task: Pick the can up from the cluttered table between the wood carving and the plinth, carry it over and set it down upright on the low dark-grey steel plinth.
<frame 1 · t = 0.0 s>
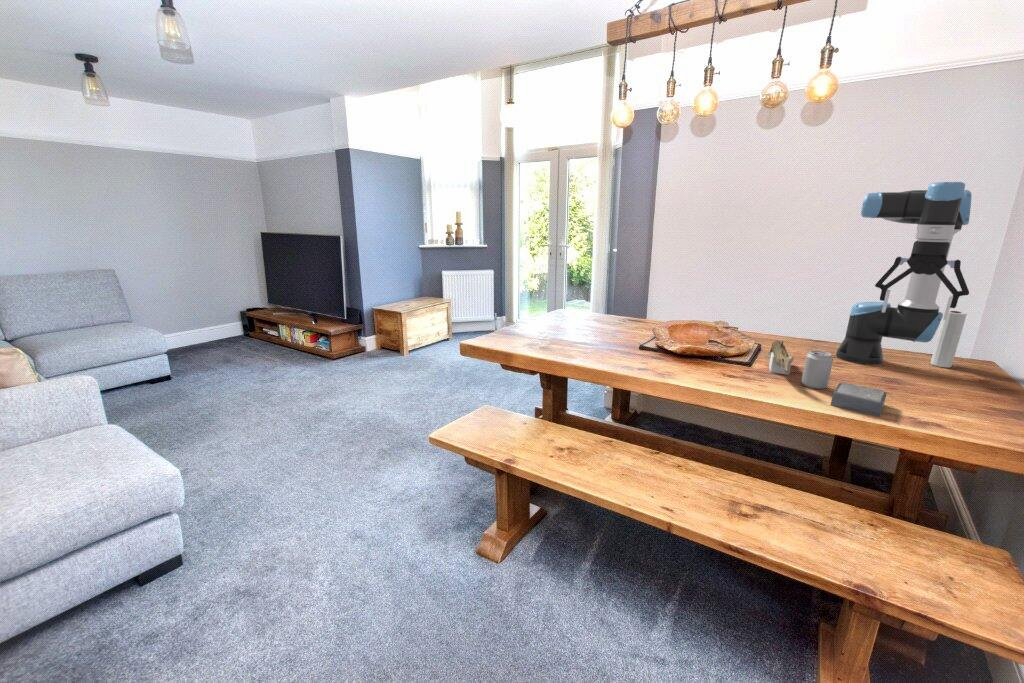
hand: (912, 315, 132), 28 cm above the table, fingers open, 13 cm apart
can: (813, 386, 153), on the table
paper towel roll: (942, 366, 176), on the table
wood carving: (779, 373, 166), on the table
plinth: (857, 404, 138), on the table
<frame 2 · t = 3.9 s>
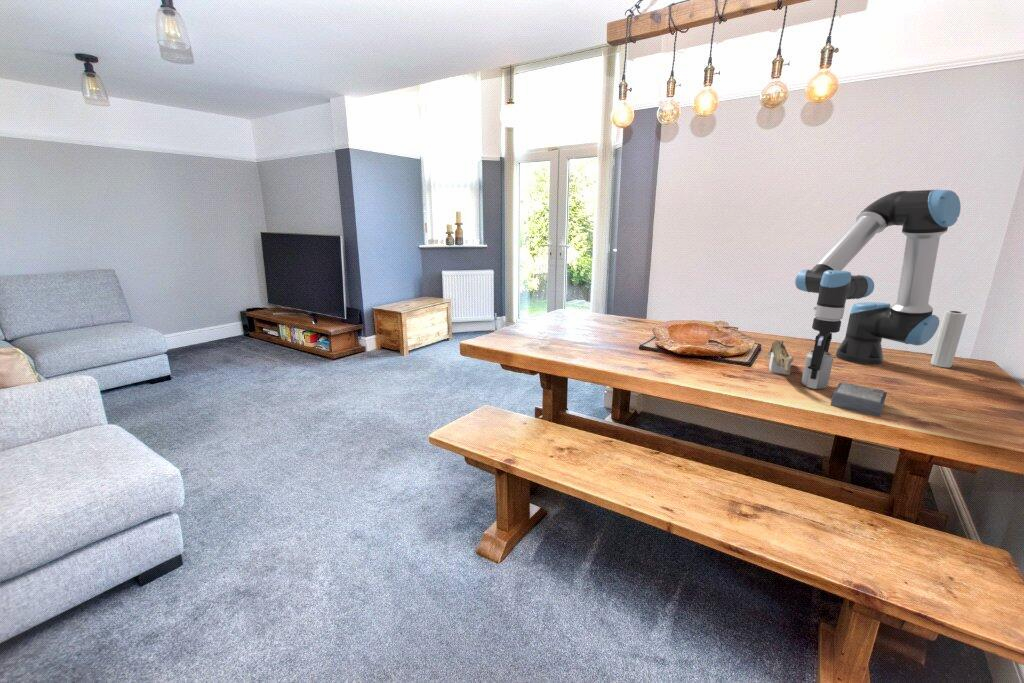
hand: (814, 384, 153), 1 cm above the table, fingers closed on can, 7 cm apart
can: (813, 386, 153), on the table, touching gripper
everything else where it was.
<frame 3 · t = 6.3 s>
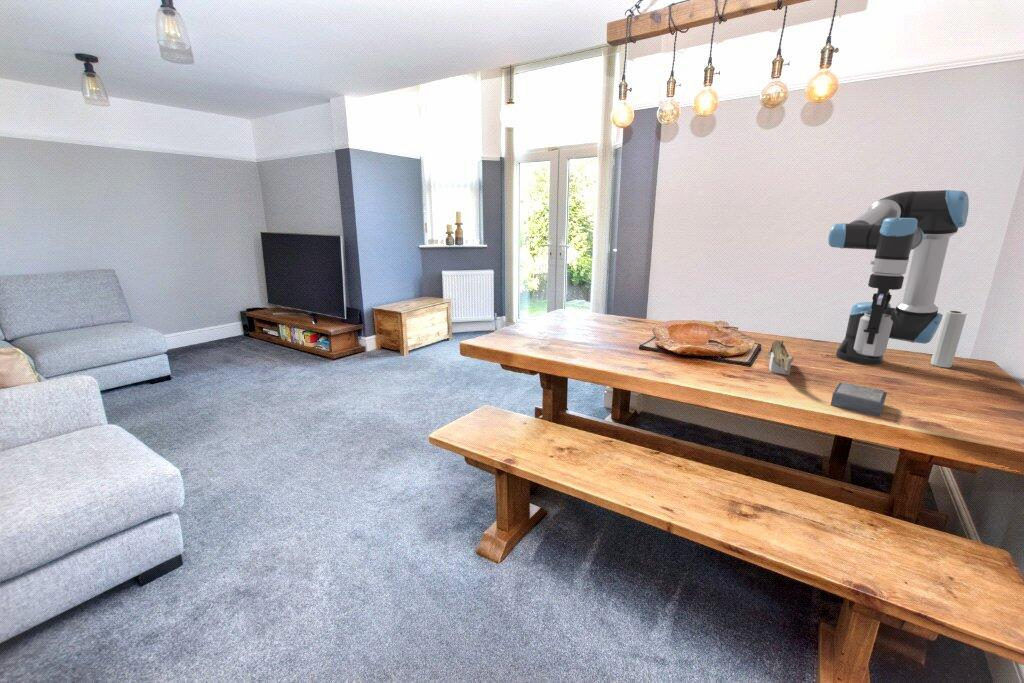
hand: (869, 351, 134), 17 cm above the table, fingers closed on can, 7 cm apart
can: (868, 354, 134), point 16 cm above the table, touching gripper
everything else where it was.
when the fingers open (7 cm above the table, at t = 9.0 s): can drops 1 cm, resting on plinth.
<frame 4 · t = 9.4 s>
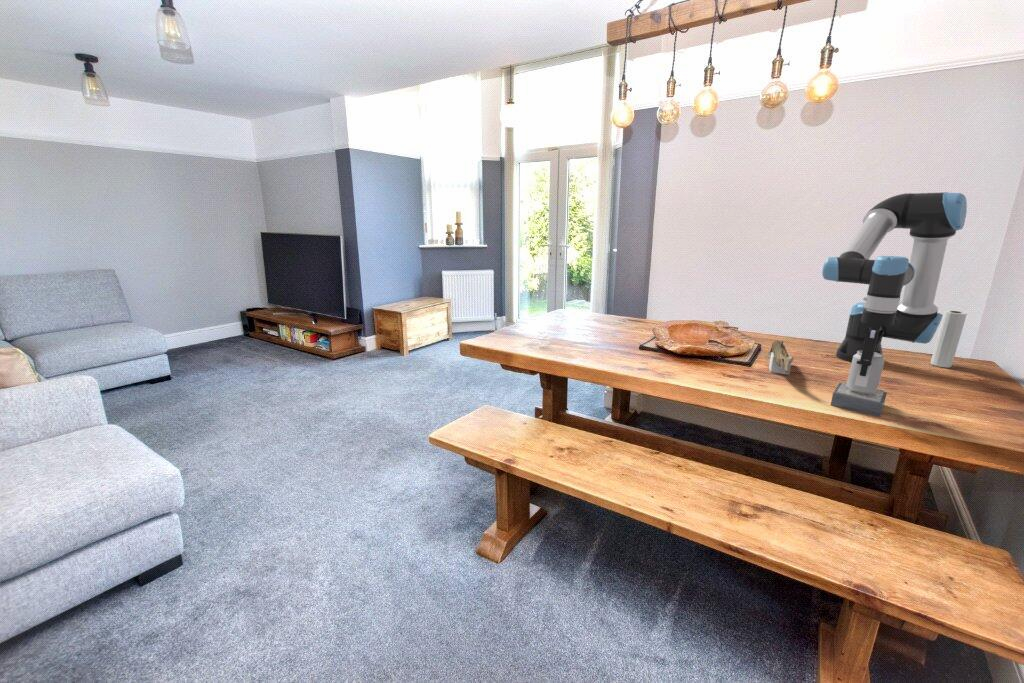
hand: (863, 379, 136), 8 cm above the table, fingers open, 13 cm apart
can: (860, 391, 137), point 4 cm above the table, touching plinth
everything else where it was.
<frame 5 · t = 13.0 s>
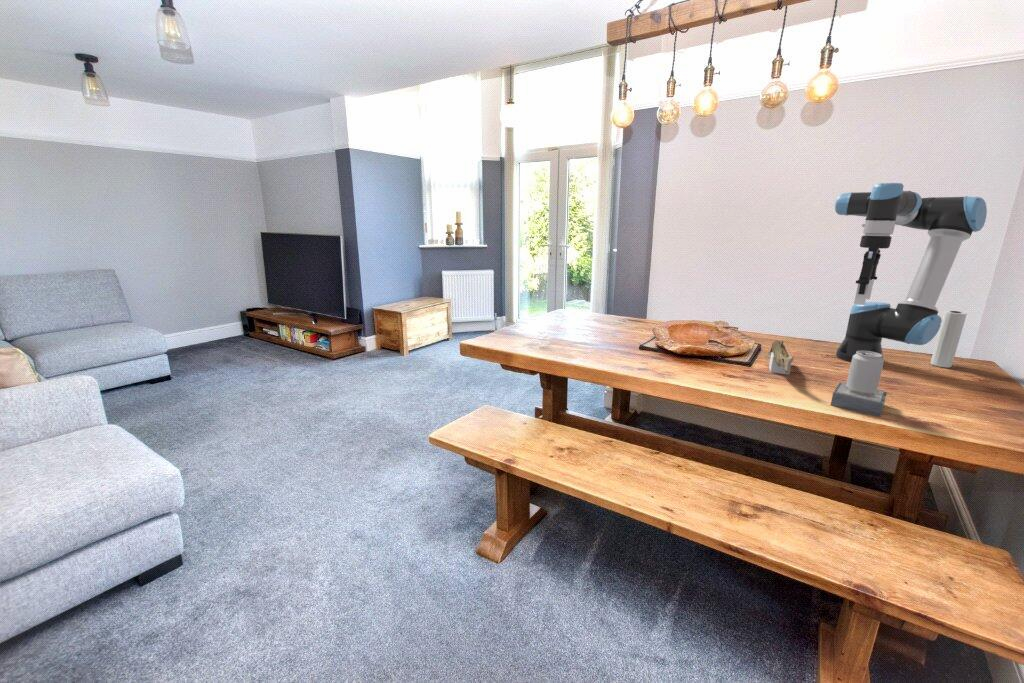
hand: (861, 301, 148), 29 cm above the table, fingers open, 13 cm apart
nothing on the table moved.
at the end: can inside the target area on the plinth (0.2 cm from its centre), point 4.4 cm above the plinth's base; can tilted 0°; the gripper is holding nothing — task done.
